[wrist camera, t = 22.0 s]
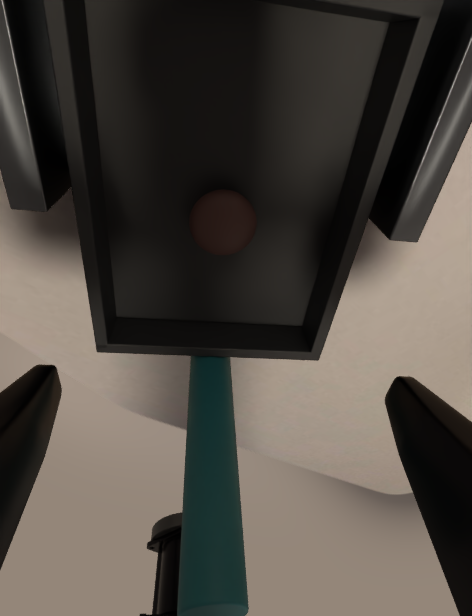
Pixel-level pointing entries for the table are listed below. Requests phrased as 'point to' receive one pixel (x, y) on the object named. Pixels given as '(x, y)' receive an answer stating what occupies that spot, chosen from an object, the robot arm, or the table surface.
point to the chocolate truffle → (222, 222)
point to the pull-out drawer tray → (395, 182)
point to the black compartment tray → (230, 176)
